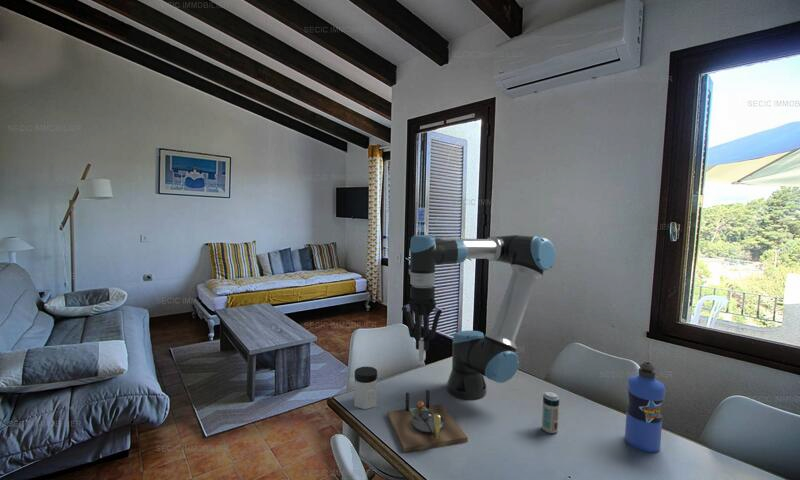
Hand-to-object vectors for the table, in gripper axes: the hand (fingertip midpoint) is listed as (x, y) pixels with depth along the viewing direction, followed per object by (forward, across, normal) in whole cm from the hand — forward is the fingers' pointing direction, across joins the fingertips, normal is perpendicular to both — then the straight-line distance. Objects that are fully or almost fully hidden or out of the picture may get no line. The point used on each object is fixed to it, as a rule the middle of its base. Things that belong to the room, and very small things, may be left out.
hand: (422, 359), depth 116 cm
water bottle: (+24, +65, +15) cm, 71 cm away
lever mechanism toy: (+23, +1, +1) cm, 23 cm away
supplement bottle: (+24, +39, +13) cm, 48 cm away
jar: (+23, -23, +9) cm, 34 cm away
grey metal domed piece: (+21, +2, 0) cm, 21 cm away
